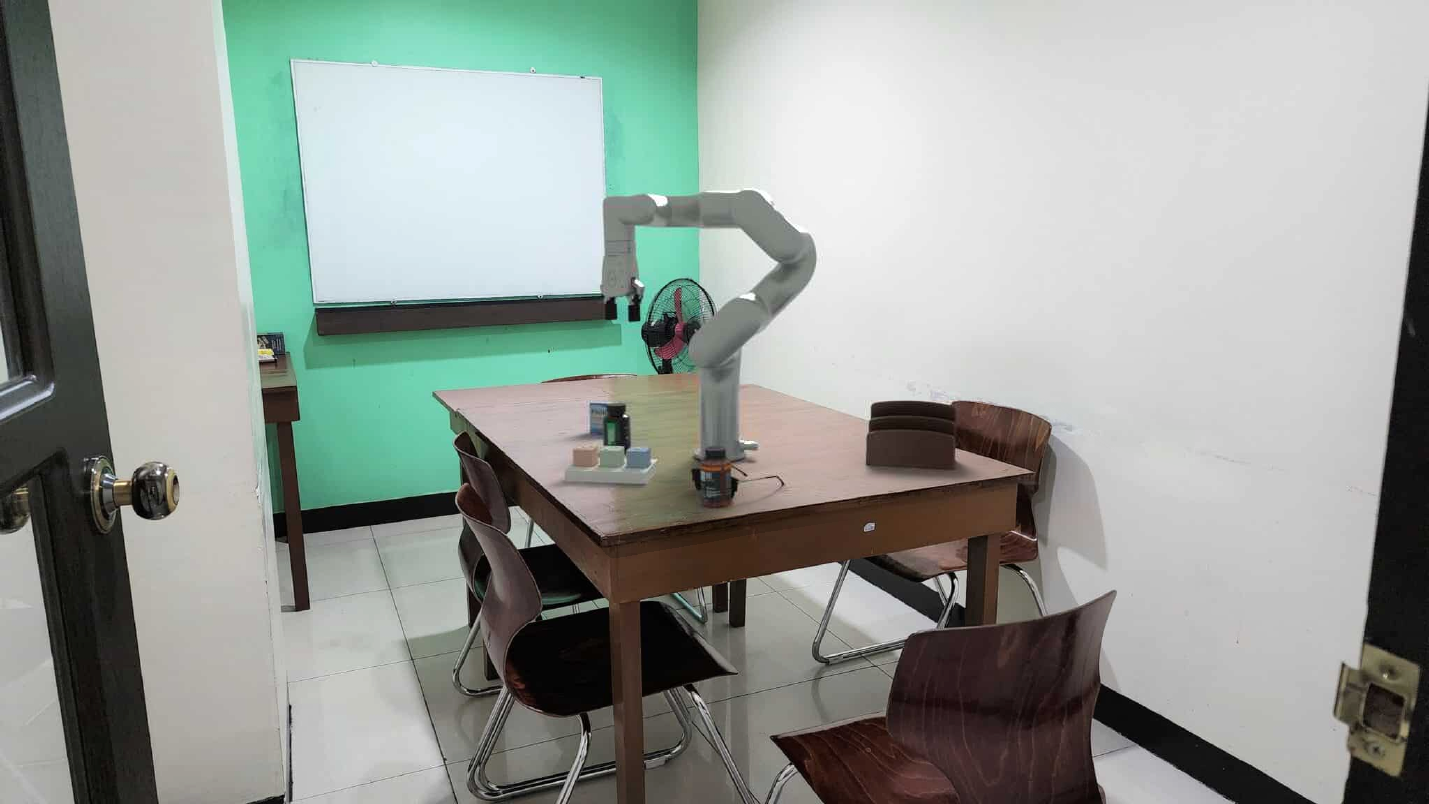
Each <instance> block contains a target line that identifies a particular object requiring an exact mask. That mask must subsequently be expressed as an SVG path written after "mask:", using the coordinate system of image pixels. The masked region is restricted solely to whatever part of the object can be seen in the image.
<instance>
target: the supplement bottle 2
mask: <svg viewBox="0 0 1429 804" xmlns="http://www.w3.org/2000/svg"><path fill="white" fill-rule="evenodd" d="M725 454H726V448H725V447H723V446H709V447H706V448H705V455H706V456H705V457H704V458H703V459H702V460H701V461H700V469H701V491H700V495H701V496H700V499H701V501H700V502H701V504H702V505H703V506H704V507H707V508H708V507H709V508H712V509H713V508H714V509H715V508H716V509H717V508H724V507H728V506H729V505H731V503H732V500H733V499H732V496H731V476H732V467H731V465H732V464H731V463H732V461H730V460H729V458H727V457H726V455H725Z"/></svg>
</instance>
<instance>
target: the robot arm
mask: <svg viewBox="0 0 1429 804" xmlns="http://www.w3.org/2000/svg"><path fill="white" fill-rule="evenodd" d="M602 214H603V215H602V219H603V221H602V224H603V225H602V226H603V241H604V242H603V244H604V254H603V258H602V265H601V284H600V285H599V290H600V293H601V298H602V299H603V302H602V303H603V304H604V314H605V317H604V318H605V319H604V320H606V321H616V320H618V303H617V302H616V301H617V299H618V298H624V297H625V298H626V300H627V302H628V303H629V304H628V305H627V317H628V318H627V319H628V322H629V323H637V322H639V323H640V322H641V321H642V319H641V305H642V302H643V299H644V293H645V289H646V288H645V285H643V284H642V283H641V282H640V272H639V263H638V259H637V258H638V257H637V243H636V241H637V240H636V226H638V227H644V228H647V227H648V228H659V229H660V228H697V229H702V230H704V229H706V230H707V229H709V230H711V229H717V230H719V229H727V230H729V229H730V230H731V229H733V230H734V229H736V230H737V229H738V230H739V229H740V230H742V232H744V233H745V235H746V236H748V237H749V239H750V240H752V241H753V242H754V243H755V244H756V246H758V247H759V248H760V249H761V250H762V251H763V252H764V253H765V254H766V255H767V256H768V257H769V258H771V259H772V260H773V261H774V262H777V264H776V265H775V267H774V268H772V270H770V271H769V272H768V273H767V274H765V276H764V277H763V278H762V279H761V280H760V281H759V282H757V284H756V285H755V286H754V287H752V289H750V290H749V291H748V292H746V293H744V294H742V295H738V296H735V297H733V298H732V299H730V300H728V301H727V302H726V303H724V305H723V306H722V307H721V308H719V309H718V310H717V311H716V313H715V314H714V315H712V316H711V317H710V318H709V319H708V320H707V321H706V322H705V323H704V324H703V325H702V326H701V327H700V328H699V329H698V330H697V331H696V332H695V333H693V335H692V337H691V338H690V339H689V340H690V341H689V343H688V355H689V358H690V361H692V363H693V364H694V365H695V366H696V367H697V368H700V373H699V435H700V436H699V439H700V440H699V441H700V443H699V444H700V447H699V448H697V449H695V450H694V451H693V456H694V458H695V459H697V460H702V459H703V458H704V457H705V456H706V455H705V448H706V447H709V446H723V447H725V448H726V454H725V455H726V457H727V458H729V460H730V462H732V461H738V460H742V459H744V458H745V457H747V451H755V452H756V451H758V450H759V443H758V442H755V441H750V440H749V441H745V440H744V439H743V435H740V429H741V428H740V424H741V423H740V422H741V421H740V417H741V416H740V391H741V389H740V388H741V386H740V381H741V380H740V379H741V377H740V376H741V363H742V354H743V353H742V352H743V351H742V350H743V348H742V347H743V346H744V345H746V344H747V343H748V342H749V341H750V340H751V339H753V337H755V336H757V335H759V334H760V333H762V332H763V331H765V329H766V328H767V327H768V326H770V324H771V323H772V322H773V321H774V319H776V318H777V317H778V316H779V315H780V314H781V313H782V312H783V311H785V309H786V308H787V307H788V306H790V304H791V303H792V302H793V301H794V300H795V299H797V297H798V296H799V295H801V293H802V292H803V291H804V290H805V288H806V287H807V286H808V285H809V283H810V281H811V279H812V277H813V276H814V273H815V270H816V266H817V260H818V259H817V257H818V256H817V249H816V243H815V241H814V239H813V237H812V236H811V234H810V233H809V231H808V230H806V229H805V228H804V227H801V226H799V225H794V224H793V223H791V222H790V221H789V220H788V219H787V218H786V216H784V215H783V214H782V213H781V212H780V211H779V210H778V209H777V208H776V207H775V204H774V201H773V199H772V197H771V196H770V195H769V193H767V192H765V191H764V190H758V189H756V188H749V187H748V188H743V189H741V190H706V191H701V192H700V193H697V194H694V195H693V194H692V195H658V194H652V193H651V194H650V193H639V194H634V195H628V196H627V195H611V196H607V197H605V198H604V199H603V201H602Z"/></svg>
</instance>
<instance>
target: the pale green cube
mask: <svg viewBox="0 0 1429 804" xmlns="http://www.w3.org/2000/svg"><path fill="white" fill-rule="evenodd" d="M598 454H599V458H600V467H610V468H621V467H622V466H623V465H624V464H625V460H624V459H625V454H624V446H603V447H602V448H600V449H598Z"/></svg>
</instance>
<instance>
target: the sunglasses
mask: <svg viewBox="0 0 1429 804" xmlns="http://www.w3.org/2000/svg"><path fill="white" fill-rule="evenodd" d="M731 468H732V469H734V470H736V471H738V472H740V473H741V474H742V475H743V476H744V477H748V476H749V475H748V473H746V472H744V471H742V469H740V468H738V467H736V466H734V465H732V464H731ZM690 473H691V476H692V477H691V479H692V482H694V483H693V484H694V488H695V490H696V491H699V492H701V468H690ZM774 478H776V479H777V480H779V481H780V484H781V486H785V485H786V484H785V482H784V481H783V480H782V478H781V477H780V476H779V475H769V476H764V477H757V478H751V479H741V480H740V479H739V478H737V477H735V476H732V475H731V496H732V499H731V500H733V499H735V495H736V493H737V492H738V488H739V485H740V484H741V483H747V482H754V481H760V480H766V479H774Z"/></svg>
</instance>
